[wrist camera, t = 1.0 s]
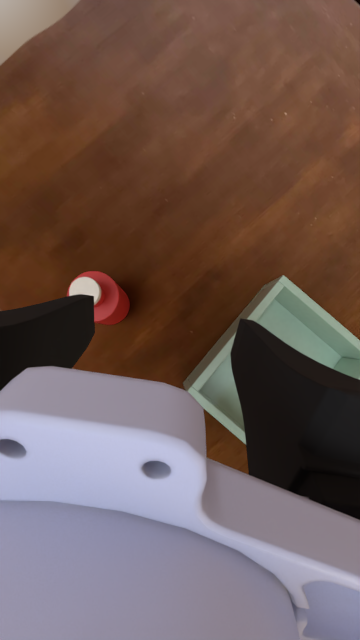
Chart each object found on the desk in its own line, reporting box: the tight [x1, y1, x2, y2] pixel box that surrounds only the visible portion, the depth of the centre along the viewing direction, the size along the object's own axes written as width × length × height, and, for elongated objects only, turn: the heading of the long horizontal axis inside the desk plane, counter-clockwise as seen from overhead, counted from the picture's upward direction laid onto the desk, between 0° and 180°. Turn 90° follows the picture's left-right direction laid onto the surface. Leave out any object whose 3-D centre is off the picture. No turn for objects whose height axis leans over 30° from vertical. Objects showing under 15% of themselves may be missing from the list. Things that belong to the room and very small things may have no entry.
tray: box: [183, 275, 360, 444], centre depth 25 cm, size 15×13×4 cm
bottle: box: [67, 271, 130, 325], centre depth 22 cm, size 4×4×8 cm
